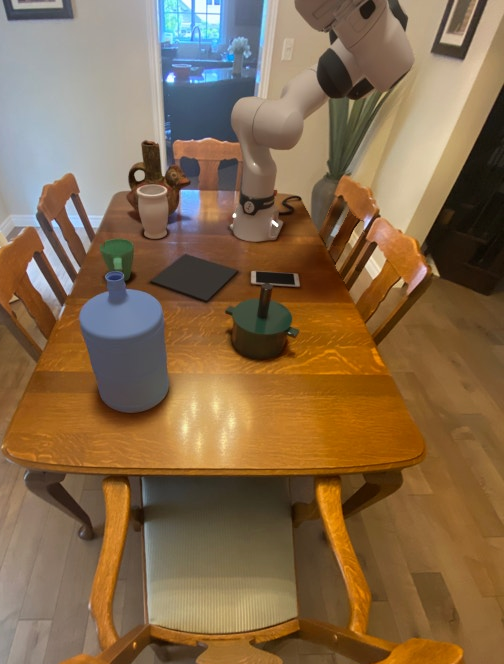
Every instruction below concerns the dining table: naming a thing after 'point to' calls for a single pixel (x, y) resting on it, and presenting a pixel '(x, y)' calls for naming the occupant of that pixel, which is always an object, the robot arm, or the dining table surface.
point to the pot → (259, 341)
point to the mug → (118, 256)
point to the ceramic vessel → (156, 177)
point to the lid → (262, 315)
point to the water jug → (126, 346)
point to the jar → (153, 210)
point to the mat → (195, 277)
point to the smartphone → (275, 278)
